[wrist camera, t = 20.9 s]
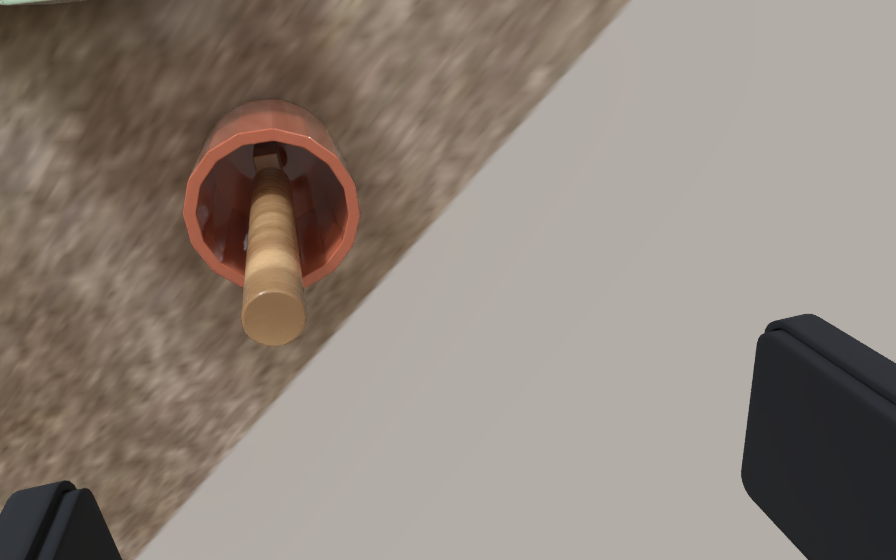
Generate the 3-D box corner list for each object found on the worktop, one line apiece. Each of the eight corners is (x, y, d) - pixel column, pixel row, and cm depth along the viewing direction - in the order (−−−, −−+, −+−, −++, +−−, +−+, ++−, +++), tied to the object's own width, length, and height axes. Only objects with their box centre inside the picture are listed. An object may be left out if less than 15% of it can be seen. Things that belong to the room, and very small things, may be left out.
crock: (326, 90, 34) (344, 117, 26) (348, 215, 37) (370, 275, 29) (188, 109, 33) (162, 144, 25) (222, 237, 36) (209, 306, 28)
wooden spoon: (247, 145, 33) (229, 278, 17) (282, 139, 34) (295, 265, 18) (260, 200, 35) (254, 371, 19) (294, 194, 35) (316, 357, 19)
